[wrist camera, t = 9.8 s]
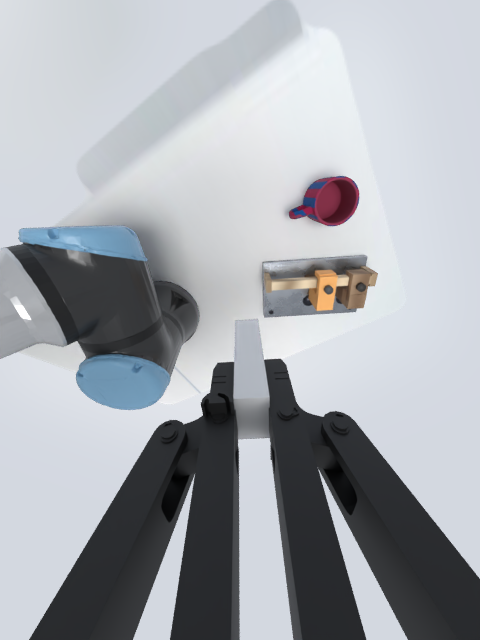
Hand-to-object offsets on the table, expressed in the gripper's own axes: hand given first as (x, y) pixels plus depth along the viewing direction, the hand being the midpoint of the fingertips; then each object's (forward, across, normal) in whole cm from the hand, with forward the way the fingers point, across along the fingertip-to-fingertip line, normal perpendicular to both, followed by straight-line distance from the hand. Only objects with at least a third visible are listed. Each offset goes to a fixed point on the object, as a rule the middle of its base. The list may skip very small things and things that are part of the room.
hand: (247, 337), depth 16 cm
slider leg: (+31, +15, -9) cm, 35 cm away
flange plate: (+32, +14, -10) cm, 37 cm away
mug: (+33, +13, +6) cm, 36 cm away
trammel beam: (+31, +14, -9) cm, 35 cm away
